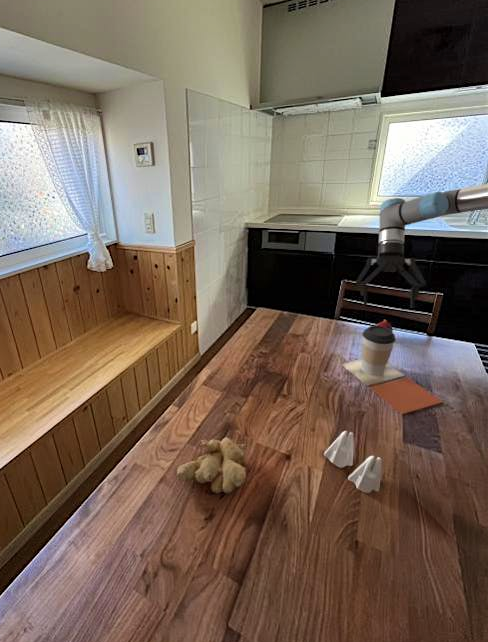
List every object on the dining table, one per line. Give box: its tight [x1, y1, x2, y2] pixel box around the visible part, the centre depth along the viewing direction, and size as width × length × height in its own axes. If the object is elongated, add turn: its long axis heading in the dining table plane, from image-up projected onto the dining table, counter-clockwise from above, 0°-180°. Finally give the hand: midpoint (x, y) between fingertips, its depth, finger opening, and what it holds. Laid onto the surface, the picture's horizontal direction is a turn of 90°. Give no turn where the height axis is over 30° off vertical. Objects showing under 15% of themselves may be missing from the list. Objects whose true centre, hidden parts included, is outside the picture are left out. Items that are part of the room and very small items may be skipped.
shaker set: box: [323, 430, 383, 494], centre depth 74 cm, size 12×4×11 cm, turn 30°
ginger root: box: [176, 437, 248, 494], centre depth 78 cm, size 16×16×8 cm
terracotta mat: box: [369, 377, 444, 415], centre depth 99 cm, size 12×14×1 cm
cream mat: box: [341, 359, 406, 387], centre depth 110 cm, size 12×14×1 cm
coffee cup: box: [360, 325, 396, 376], centre depth 107 cm, size 9×9×15 cm
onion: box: [376, 319, 394, 333], centre depth 126 cm, size 6×6×8 cm
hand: (388, 306), depth 112 cm, fingers open, 13 cm apart
